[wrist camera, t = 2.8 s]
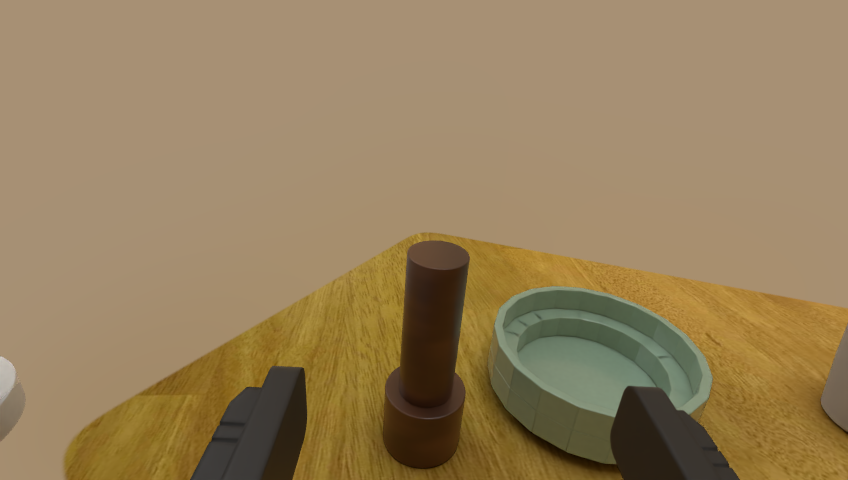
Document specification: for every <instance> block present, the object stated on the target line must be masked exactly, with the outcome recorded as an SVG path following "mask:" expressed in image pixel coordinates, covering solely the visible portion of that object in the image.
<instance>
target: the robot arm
mask: <svg viewBox="0 0 848 480" xmlns="http://www.w3.org/2000/svg"><path fill="white" fill-rule="evenodd" d="M306 424H307V402H306V385H305V371H304V368H302V367H283V366H272V367H271V369H270V370H269V372H268V375H267V377H266V379H265V381H264V384H263V386H262V388H259V387H246V388H245V389H244V390H243V391H242V392H241V393H240V394H239V395H238V396H237V397H235V398H234V399H233V400H232V401H231V402H230V403H229V405H228V407H227V409H226V411H225V413H224V415H223V417H222V419H221V421H220V425H219V426H218V427H217V429H216V431H215V432H214V434H213V436H212V441H211V442H209V444H208V446H207V448H206V450H205V452H204V454H203V456H202V458H201V460H200V462H199V464H198V466H197V467H196V469H195V471H194V473H193V475H192V477H191V479H190V480H292V479H293V475H294V472H295V468H296V465H297V461H298V458H299V454H300V451H301V448H302V444H303V441H304V437H305V431H306ZM610 444H611V450H612V453H613V456H614V459H615V461H616V463H617V466H618V468H619V470H620V472H621V475H622V477H623V479H624V480H740V479H739V478H738V476H737V475H736V473H735V472H734V470H733V469H732V468H729V463H728V462H727V460H726V459H725V457H724V456H723V455H722V453H721V452H720V451H718V450H717V448H718V447H717V446H716V445H715V443H714V442H713V440H712V439H711V437H710V436H709V434H708V433H707V432H706V430H705V429H704V427H702V426H701V425H700V424H699V423H698V422H697V421H695V420H694V419H693V418H692V417H691V416H690V415H688V414H687V413H686V412H685V411H684V410H676V408H675V407H674V405H673V403H672V402H671V400H670V399H669V397H668V396H667V394H666V393H665V392H664V390H663V389H661V388H659V387H643V386H627V387H626V388H625V390H624V392H623V395H622V398H621V401H620V404H619V407H618V410H617V413H616V416H615V419H614V422H613V425H612V428H611V433H610Z"/></svg>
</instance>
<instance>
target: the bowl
mask: <svg viewBox="0 0 848 480" xmlns="http://www.w3.org/2000/svg"><path fill="white" fill-rule="evenodd" d="M488 369H489V375H490V380H491V385H492V388H493V389H494V391H495V392H496V394H497V396H498V397H499V399H500V401H501V402H502V404H503V405H504V407H505V409H507V411H508V412H510V413H511V414H512V415H513V416H514V417H515V418H516V419H517V420H518V421H519V422H520V423H522V424H523V425H524V426H525V427H526V428H527V429H528V430H529V431H530V432H532V433H533V434H535V435H537V436H539V437H540V438H542V439H544V440H546V441H547V442H549V443H551V444H553V445H555V446H556V447H558V448H560V449H562V450H563V451H566V452H567V453H570V454H574V455H577V456H580V457H583V458H587V459H590V460H593V461H597V462H600V463H603V464H604V463H605V464H617V463H616V461H615V459H614V456H613V453H612V450H611V444H610V433H611V428H612V425H613V422H614V419H615V416H616V413H617V410H618V407H619V404H620V401H621V398H622V395H623V392H624V390H625V388H626V387H627V386H643V387H659V388H661V389H663V390H664V392H665V393H666V394H667V396H668V397H669V399H670V400H671V402H672V403H673V405H674V407H675V408H676V410H684V411H685V412H686V413H687V414H688V415H690V416H691V417H692V418H693V419H694V420H695V421H697V422H698V421H699V419H700V417H701V414H702V412H703V410H704V408H705V406H706V403H707V401H708V399H709V395H710V391H711V386H712V381H713V377H712V374H711V372H710V369H709V366H708V363H707V361H706V358H705V356H704V355H703V354H702V352H701V351H700V350H699V349H698V348H697V346H696V345H695V344H694V343H693V342H692V341H691V339H690V338H689V337H688V336H687V335H686V334H685V333H683V332H682V331H681V330H679V329H678V328H677V327H675V326H674V325H673V324H672V323H670V322H669V321H668V320H666V319H665V318H663V317H661V316H659V315H657V314H655V313H654V312H652V311H650V310H648V309H646V308H644V307H642V306H640V305H638V304H636V303H633V302H631V301H628V300H625V299H622V298H620V297H617V296H614V295H611V294H608V293H603V292H599V291H594V290H589V289H585V288H576V287H561V286H552V287H543V288H535V289H530V290H528V291H525V292H522V293H520V294H517V295H515V296H513V297H511V298H510V299H509V300H508V301H507V302H506V303H505V304H504V305H502V306H501V307H500V309H499V311H498V314H497V317H496V320H495V323H494V328H493V334H492V340H491V346H490V352H489V358H488Z"/></svg>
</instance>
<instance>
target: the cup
mask: <svg viewBox="0 0 848 480" xmlns="http://www.w3.org/2000/svg"><path fill="white" fill-rule="evenodd" d="M821 405H822V407H823V409H824V410H825V412H826V413H827V414H828V416H829V417H830V418H831V419H832V420H833V421H834V422H835V423H836V424H837V425H839V426H840V427H841V428H842V429H843V430H845V431H846V432H848V324H847V327H846V329H845V332H844V334H843V337H842V339H841V342H840V344H839V347H838V349H837V352H836V355H835V358H834V361H833V364H832V367H831V370H830V373H829V376H828V379H827V382H826V385H825V388H824V391H823V394H822V397H821Z"/></svg>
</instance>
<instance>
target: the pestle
mask: <svg viewBox="0 0 848 480" xmlns="http://www.w3.org/2000/svg"><path fill="white" fill-rule="evenodd" d="M469 260H470V257H469V254H468V252H467V251H466V250H465V249H463V248H462V247H460V246H458V245H456V244H453V243H449V242H444V241H423V242H419V243H416V244H414V245H412V246H411V247H410V248H409V250H408V252H407V266H406V282H405V297H404V313H403V328H402V344H401V359H400V367H398V368H397V369H395V370H394V371H393V372H392V373H391V374H390V376H389V377H388V379H387V381H386V385H385V404H384V425H383V440H384V443H385V446H386V448H387V450H388V451H389V453H390V454H391V455H392V456H393V457H394V458H395V459H396V460H398V461H399V462H401V463H403V464H405V465H408V466H411V467H415V468H431V467H435V466H438V465H440V464H442V463H444V462H446V461H447V460H448V459H449V458H450V457H451V456H452V455H453V454H454V453H455V451H456V449H457V446H458V442H459V435H460V428H461V421H462V415H463V408H464V401H465V387H464V384H463V382H462V380H461V378H460V377H459V376H458V375H457V374H456V373H455V367H456V359H457V351H458V344H459V336H460V328H461V321H462V313H463V306H464V298H465V290H466V283H467V275H468V268H469Z"/></svg>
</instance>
